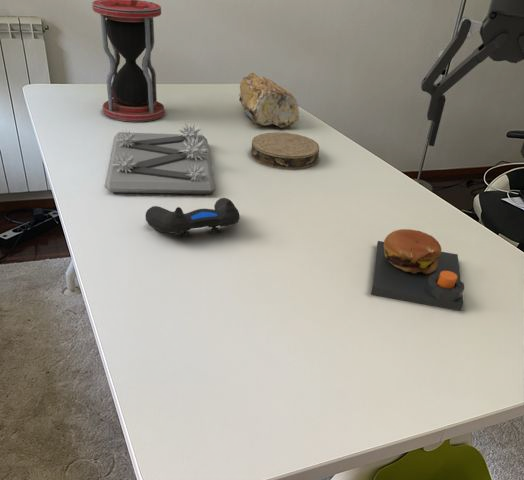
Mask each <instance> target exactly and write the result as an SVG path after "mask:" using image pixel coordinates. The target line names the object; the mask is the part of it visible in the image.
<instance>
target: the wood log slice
mask: <svg viewBox="0 0 524 480" xmlns="http://www.w3.org/2000/svg"><path fill="white" fill-rule="evenodd" d="M250 148H251V149H250V155H251V158H252V159H253V160H255V161H256V163H257V162H258V163H259V164H262V165H264V166H268V167H271V168H275V169H276V168H277V169H280V170H281V169H282V170H301V169H302V170H303V169H306V168H310V167H313V166H315V165H316V164H317V163H318V160H319V152H320V145H319V143H318V142H317V141H316V140H315V139H312V138H310V137H308V136H305V135H300V134H297V133H291V132H280V131H276V132H265V133H260V134H258V135H256V136H254V137H253V138H252V140H251V147H250Z"/></svg>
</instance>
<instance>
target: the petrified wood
mask: <svg viewBox="0 0 524 480" xmlns="http://www.w3.org/2000/svg"><path fill="white" fill-rule="evenodd" d="M238 95H239V99H238V101H239V102H240V104H241V105H240V106H242V108H243V110H244V111H245V116H246V117H247V118H248V119H249V120H250V121H251V122H253V123H254V124H256V125H261V126H270V125H274V126H277V127H279V128H281V129H285V128H287V127H290V125H293V124H294V122H297V121H299V119H300V116H299V115H300V111H299V109H300V108H299V104H298V101H297V99H296V98H295V96H294V95H293V94H292V93H290V92H289V91H287V90H286V89H285V88H283V87H281V86H279V85H277V83H276V82H274V81H273V80H272V79H269V78H266V77H264V76H263V77H260V76H258V75H257V74H256V73H254V72H250V73H249V74H248V76H245V77H243V78H242V79H241V82H240V84H239V94H238Z"/></svg>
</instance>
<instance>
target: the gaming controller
mask: <svg viewBox="0 0 524 480" xmlns="http://www.w3.org/2000/svg"><path fill="white" fill-rule="evenodd" d="M240 215H241V214H240V213H239V209H238V207H236V205H235V204H234V203H233V201H232V200H231V199H230V198H227V197H220V198H219V199H218V200H216V202H215V203H214V207H213V209H212V208H198V209H193V210H192V211H189V212H185V213H184V211H183V209H182V208H181V207H179V206H177V207H176V208H175V210H173V211H171V210H168V209H166V208H165V207H161V206H157V205H154V206H153V205H152V206H150V207H149V208H148V209H147V210H146V211H145V217H144V218H145V222H146V223H147V224H148V226H150V227H151V228H153V229H156V230H158V231H159V232H161V233H163V234H171V233H172V234H178V233H181V236H186V235H189V234H190V232H189V231H190V230H192V229H201V228H207V227H208V228H211V229H210V231H211V232H213V231H218V230H219V228H218V227H220V228H222V227H228V226H235V225H237V224H238V223H239V221H240V219H241V216H240Z"/></svg>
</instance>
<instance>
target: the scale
mask: <svg viewBox="0 0 524 480" xmlns="http://www.w3.org/2000/svg"><path fill="white" fill-rule="evenodd" d="M459 262H460V261H459V254H457V253H452V252H446V251H441V255H440V256H439V258H438V265H437V269H436V270H435V271H434V272H432V273H430V274H424V273H422V272H418V273H415V274H414V273H411V272H406V271H403V270H402V269H399V268H397V267H395V266H394V265H392V264H391V263H390V262H389V261H388V260H387V259H386V257H385V248H384V241H382V240H377V243H376V246H375V256H374V263H373V271H372V278H371V279H372V280H371V281H372V282H371V287H370V289H371V290H370V295H373V296H378V297H384V298H389V299H395V300H400V301H405V302H411V303H417V304H422V305H427V306H433V307H438V308H444V309H450V310H455V311H462V309H463V307H464V302H465V301H464V291H465V283H464V282H463V281H462V279H461V271H460V263H459ZM442 271H451V272H453V273H455V274H456V275H457V280H456V283H455V286H454V288H450V289H449V288H444V287H442V286H439V285H438V284H437V282H438V279H439V276H440V273H441V272H442Z"/></svg>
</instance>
